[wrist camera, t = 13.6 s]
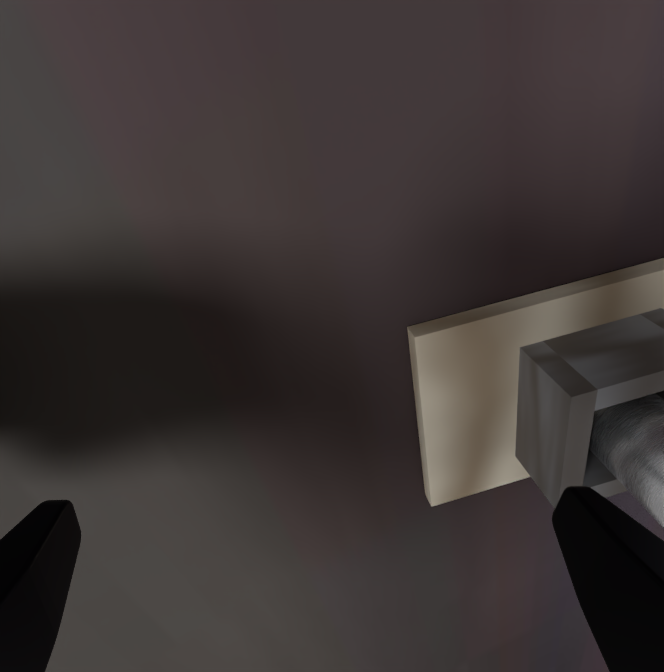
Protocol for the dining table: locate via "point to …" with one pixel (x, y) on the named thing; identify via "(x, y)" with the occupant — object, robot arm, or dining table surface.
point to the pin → (634, 448)
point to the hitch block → (534, 383)
